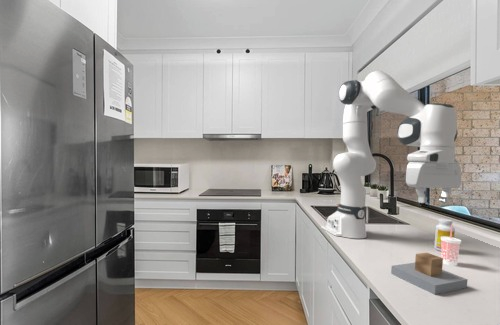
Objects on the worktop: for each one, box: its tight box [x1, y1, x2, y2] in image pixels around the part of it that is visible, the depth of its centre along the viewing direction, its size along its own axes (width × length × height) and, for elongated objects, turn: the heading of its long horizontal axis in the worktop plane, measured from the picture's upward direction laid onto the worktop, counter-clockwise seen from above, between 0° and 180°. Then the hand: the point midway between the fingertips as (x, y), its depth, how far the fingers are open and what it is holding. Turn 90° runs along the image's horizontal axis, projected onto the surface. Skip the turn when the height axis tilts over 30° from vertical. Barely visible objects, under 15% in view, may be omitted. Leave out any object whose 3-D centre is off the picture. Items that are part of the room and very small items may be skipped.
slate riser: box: [390, 262, 468, 295], centre depth 86 cm, size 14×14×2 cm
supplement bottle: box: [433, 218, 456, 252], centre depth 117 cm, size 7×7×13 cm
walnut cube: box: [414, 252, 444, 277], centre depth 85 cm, size 5×5×5 cm
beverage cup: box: [440, 224, 462, 267], centre depth 102 cm, size 6×6×14 cm
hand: (432, 202), depth 85 cm, fingers open, 8 cm apart
